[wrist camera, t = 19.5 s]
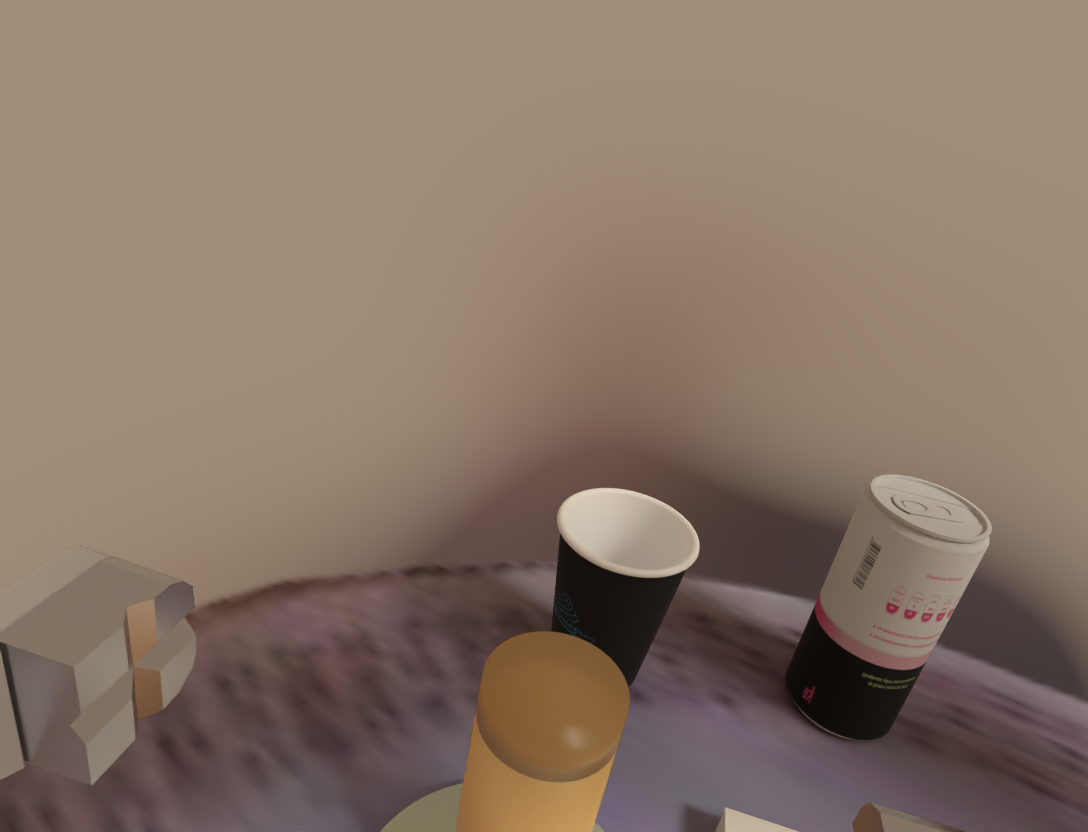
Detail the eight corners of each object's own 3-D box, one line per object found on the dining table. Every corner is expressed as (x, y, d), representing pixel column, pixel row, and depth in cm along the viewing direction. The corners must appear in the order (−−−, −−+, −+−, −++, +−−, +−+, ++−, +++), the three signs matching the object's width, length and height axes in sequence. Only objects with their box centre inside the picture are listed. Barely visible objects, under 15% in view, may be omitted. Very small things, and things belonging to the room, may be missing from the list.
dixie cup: (503, 688, 43) (534, 534, 38) (555, 610, 49) (587, 472, 44) (631, 749, 40) (681, 594, 35) (667, 658, 47) (713, 518, 42)
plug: (543, 1011, 28) (618, 770, 22) (419, 963, 28) (460, 718, 22) (570, 884, 32) (638, 655, 26) (463, 845, 33) (506, 615, 27)
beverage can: (772, 655, 49) (851, 464, 42) (868, 672, 49) (961, 484, 43) (797, 736, 43) (893, 528, 36) (905, 754, 43) (1020, 551, 37)
